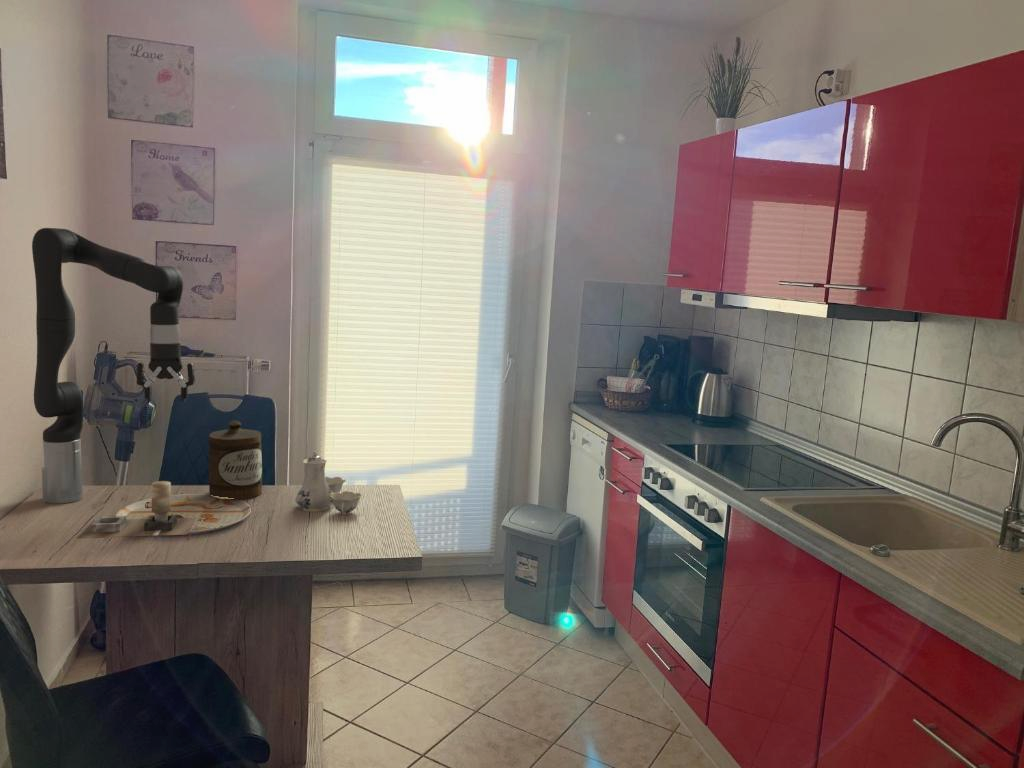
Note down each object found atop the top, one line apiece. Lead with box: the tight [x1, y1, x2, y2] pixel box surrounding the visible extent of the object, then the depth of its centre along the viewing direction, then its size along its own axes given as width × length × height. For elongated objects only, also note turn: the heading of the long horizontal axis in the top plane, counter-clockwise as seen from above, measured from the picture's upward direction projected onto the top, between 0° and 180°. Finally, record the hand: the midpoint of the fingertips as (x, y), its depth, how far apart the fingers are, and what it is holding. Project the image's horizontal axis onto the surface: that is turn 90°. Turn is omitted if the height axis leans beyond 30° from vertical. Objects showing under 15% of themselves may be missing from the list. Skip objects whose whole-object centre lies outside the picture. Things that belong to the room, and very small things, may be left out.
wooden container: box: [208, 420, 263, 501], centre depth 240 cm, size 15×15×22 cm
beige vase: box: [151, 480, 172, 522], centre depth 204 cm, size 4×4×11 cm
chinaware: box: [295, 451, 362, 516], centre depth 231 cm, size 28×17×17 cm, turn 32°
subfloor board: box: [76, 511, 198, 541], centre depth 203 cm, size 25×14×4 cm, turn 102°
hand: (166, 400), depth 221 cm, fingers open, 8 cm apart
